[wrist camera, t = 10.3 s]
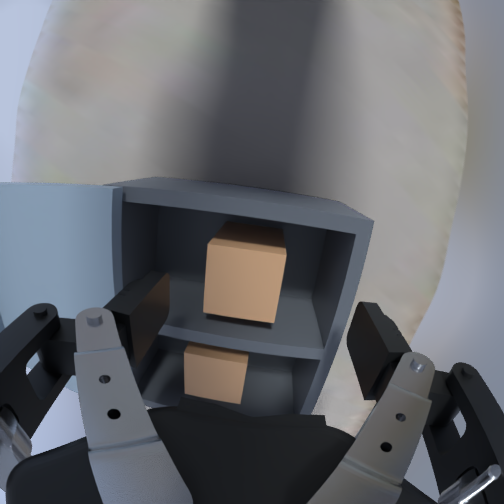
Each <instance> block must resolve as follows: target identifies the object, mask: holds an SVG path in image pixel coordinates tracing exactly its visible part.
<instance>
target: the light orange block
mask: <svg viewBox="0 0 504 504" xmlns="http://www.w3.org/2000/svg"><path fill="white" fill-rule="evenodd" d="M286 256H287V254H286V248H285V241H284V234H283V229H279V228H272V227H265V226H258V225H251V224H244V223H237V222H229V221H226V223H225V224H224V225H223V226H222V227H221V229H220V230H219V231H218V232H217V233H216V235H215V236H214V237H213V238H212V239H211V241H210V242H209V243H208V247H207V260H206V274H205V289H204V306H203V312H205V313H210V314H216V315H222V316H228V317H235V318H241V319H248V320H255V321H262V322H269V323H274V321H275V316H276V311H277V306H278V300H279V295H280V289H281V284H282V279H283V273H284V267H285V262H286Z"/></svg>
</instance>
